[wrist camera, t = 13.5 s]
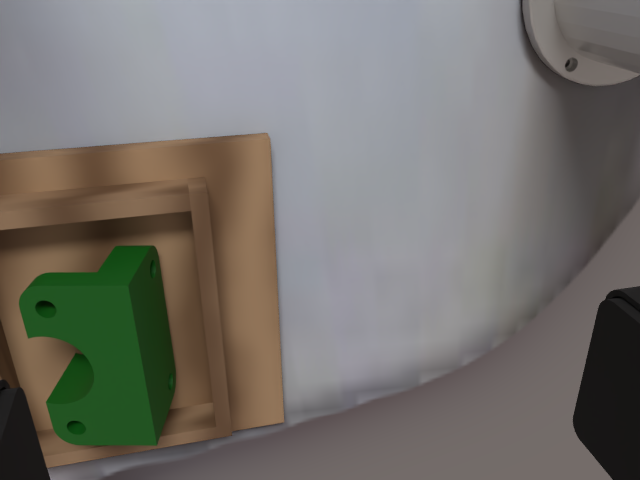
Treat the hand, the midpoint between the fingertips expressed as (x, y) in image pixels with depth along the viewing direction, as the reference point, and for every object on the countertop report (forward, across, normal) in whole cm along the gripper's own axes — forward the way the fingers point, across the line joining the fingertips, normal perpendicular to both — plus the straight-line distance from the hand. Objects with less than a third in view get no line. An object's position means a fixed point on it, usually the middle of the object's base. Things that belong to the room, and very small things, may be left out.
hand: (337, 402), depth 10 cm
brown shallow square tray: (+28, +8, +15) cm, 33 cm away
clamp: (+27, +8, +15) cm, 32 cm away
